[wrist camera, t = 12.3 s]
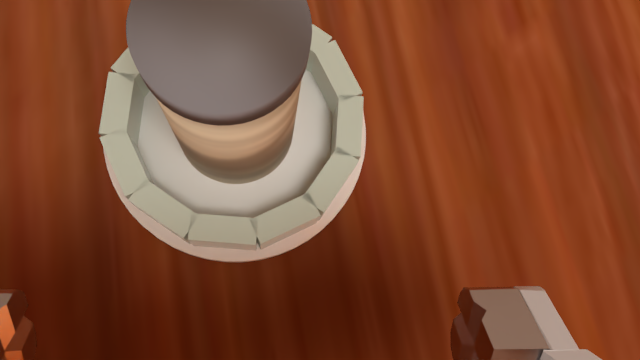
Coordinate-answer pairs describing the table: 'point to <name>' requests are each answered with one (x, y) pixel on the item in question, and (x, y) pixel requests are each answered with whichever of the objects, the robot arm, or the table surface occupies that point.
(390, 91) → the table surface
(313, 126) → the ceramic dish
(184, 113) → the spice jar
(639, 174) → the table surface
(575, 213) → the table surface
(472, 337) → the robot arm
